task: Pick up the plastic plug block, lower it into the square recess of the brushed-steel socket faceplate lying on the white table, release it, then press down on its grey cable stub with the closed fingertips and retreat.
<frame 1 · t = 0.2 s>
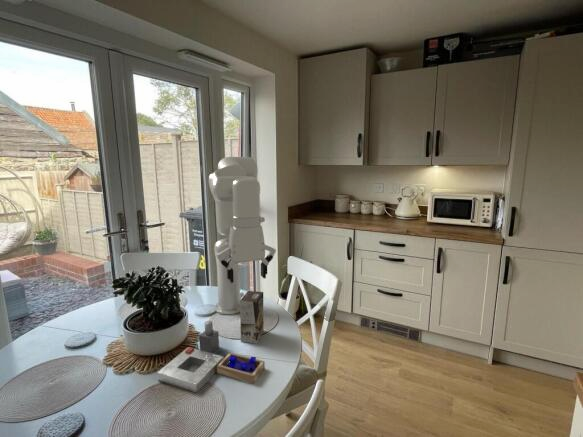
hand: (247, 279, 95), 31 cm above the table, tool pointing down, fingers open, 9 cm apart
tidy tray: (241, 370, 101), on the table
plug: (209, 349, 112), on the table
cable holder: (242, 371, 101), resting in tidy tray
coffee box: (252, 336, 120), on the table
socket plate: (192, 371, 100), on the table
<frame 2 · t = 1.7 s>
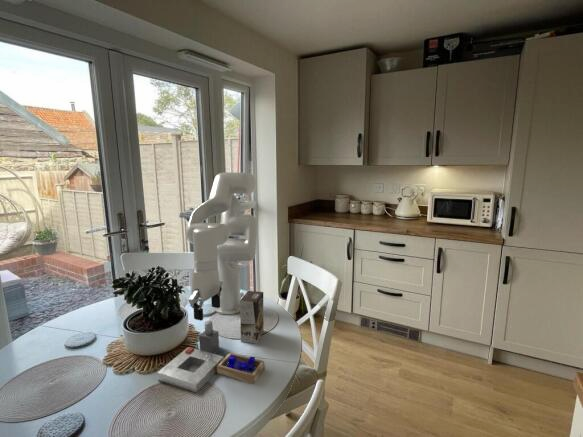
hand: (207, 313, 109), 14 cm above the table, tool pointing down, fingers open, 9 cm apart
nothing on the table moved.
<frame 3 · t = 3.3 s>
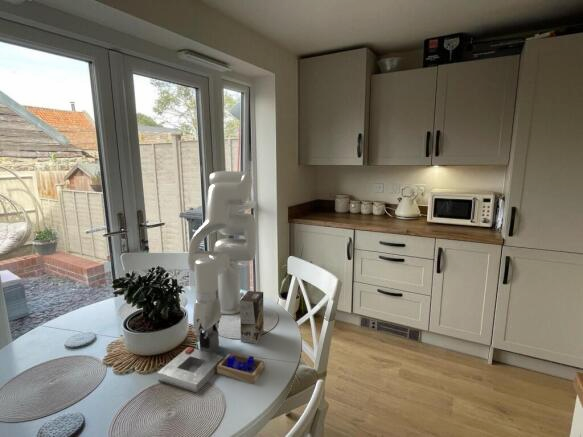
hand: (209, 342, 111), 2 cm above the table, tool pointing down, fingers closed on plug, 4 cm apart
plug: (209, 349, 112), on the table, touching gripper
everything else where it was.
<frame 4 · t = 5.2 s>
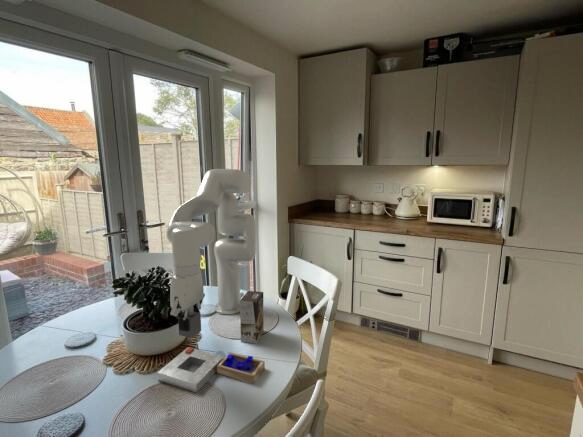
hand: (189, 325, 97), 16 cm above the table, tool pointing down, fingers closed on plug, 4 cm apart
plug: (190, 332, 98), point 13 cm above the table, touching gripper
when the fingers open (3 cm above the table, at t = 7.3 s): plug stays where it is, resting on socket plate.
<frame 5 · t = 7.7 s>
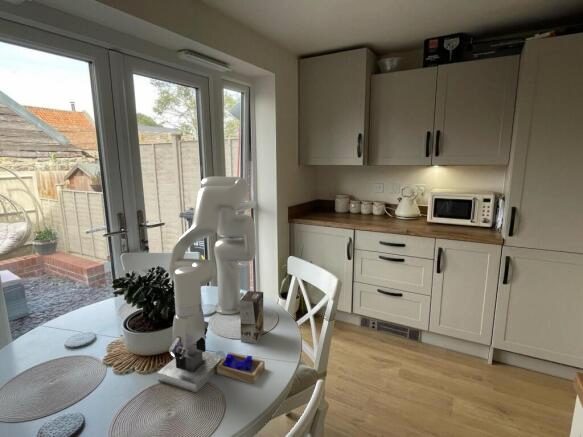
hand: (191, 359, 99), 4 cm above the table, tool pointing down, fingers open, 9 cm apart
plug: (192, 370, 100), resting on socket plate
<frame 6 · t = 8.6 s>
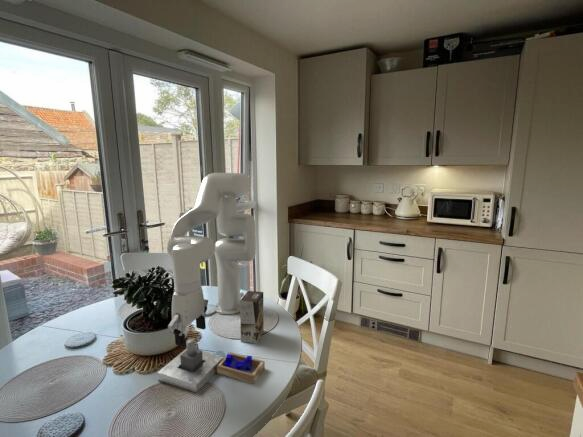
hand: (191, 336, 98), 12 cm above the table, tool pointing down, fingers open, 9 cm apart
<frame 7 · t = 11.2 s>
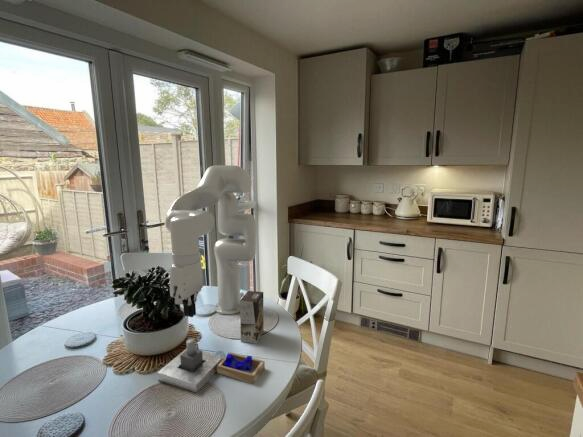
hand: (190, 315, 97), 19 cm above the table, tool pointing down, fingers closed
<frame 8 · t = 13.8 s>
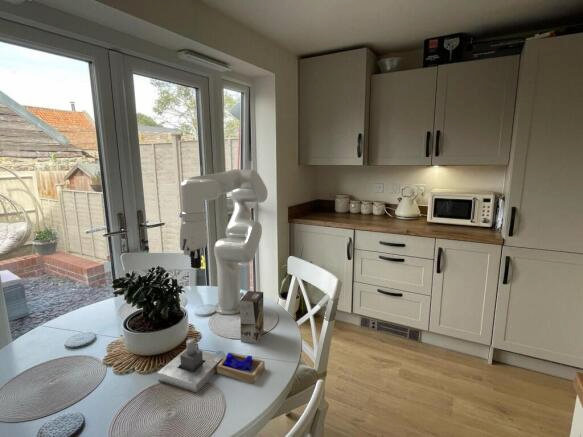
hand: (196, 267, 114), 27 cm above the table, tool pointing down, fingers closed
at the end: plug 0.1 cm off-centre on the socket plate, point 0.3 cm above the socket plate's base; plug tilted 0°; the gripper is holding nothing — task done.
